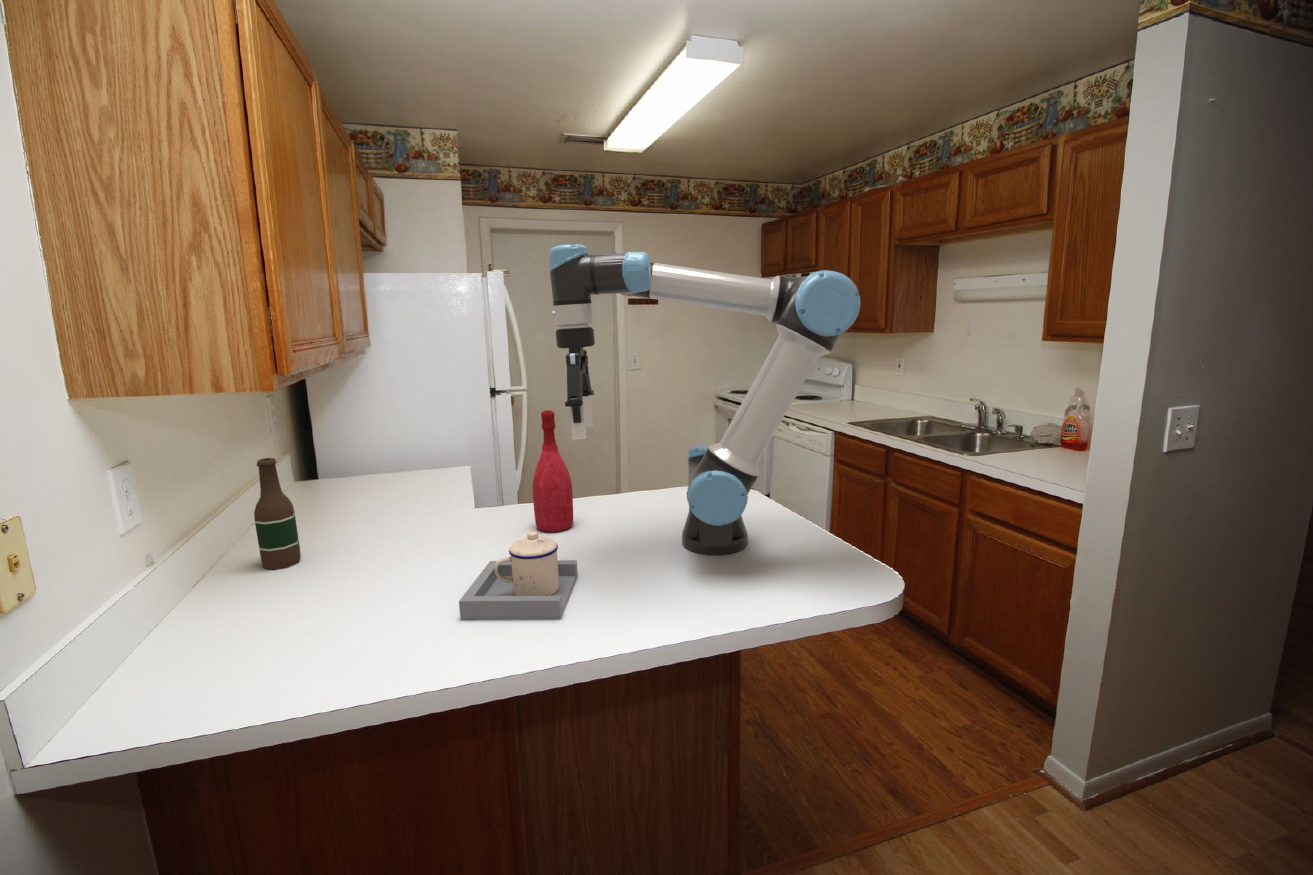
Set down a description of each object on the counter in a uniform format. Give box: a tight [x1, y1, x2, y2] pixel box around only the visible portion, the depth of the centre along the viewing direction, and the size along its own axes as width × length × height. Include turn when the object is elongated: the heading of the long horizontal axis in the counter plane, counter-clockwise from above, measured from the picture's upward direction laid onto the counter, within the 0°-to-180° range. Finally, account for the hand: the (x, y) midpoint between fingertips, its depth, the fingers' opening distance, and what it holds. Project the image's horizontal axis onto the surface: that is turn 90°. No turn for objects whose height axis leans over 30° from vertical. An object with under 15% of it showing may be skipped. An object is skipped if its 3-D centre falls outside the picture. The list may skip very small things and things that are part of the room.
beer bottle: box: [253, 457, 302, 571], centre depth 134 cm, size 8×8×24 cm
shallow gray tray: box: [458, 559, 579, 620], centre depth 117 cm, size 18×18×4 cm
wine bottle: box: [532, 409, 574, 533], centre depth 153 cm, size 10×10×30 cm
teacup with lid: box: [494, 530, 559, 596], centre depth 116 cm, size 12×9×12 cm
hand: (583, 432), depth 125 cm, fingers open, 13 cm apart
